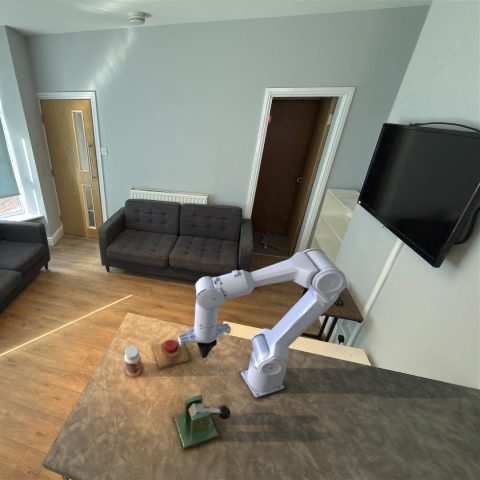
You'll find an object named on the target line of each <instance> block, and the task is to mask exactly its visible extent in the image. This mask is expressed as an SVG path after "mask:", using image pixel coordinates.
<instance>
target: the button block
mask: <svg viewBox="0 0 480 480" xmlns="http://www.w3.org/2000/svg"><path fill="white" fill-rule="evenodd" d="M170 340H172V341H174V342H176V351H175V352H174V353H168V352H167V351H166V349H165V344H166V342H167V341H170ZM152 347H153V351H154V355H155V358H156V361H157V364H158V366H159V369H163V368H166V367H169V366H173V365H177V364H180V363H184V362H187V361H190V359H191V358H190V355H189V353H188V351H187V348H186V347H185V345H184V346H180V344H179V341H178V339H167V340H164V342H162V343H159V344H155V345H153V346H152Z"/></svg>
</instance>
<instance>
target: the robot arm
mask: <svg viewBox="0 0 480 480" xmlns="http://www.w3.org/2000/svg"><path fill="white" fill-rule="evenodd" d="M289 281H292V282H294V283H296V284H297V285H300V286H301V287H303V288H306V289H308V290H307V291H306V292H305V293H304V294H303V295H302V296H301V298H300V299H299V300H298V301H297V302H296V303H295V304H294V305H293V306H292V307H291V308H290V309H289V310H288V311H287V313H286V314H285V315H284V316H283V317H282V318H281V319H280V320H279V321H278V322H277V323H276V324H275V325H274V326H273V327H272V329H271V328H265V327H264V328H263V329H262V330H261V331H259V332H258V333H255V334H253V335H252V337H251V339H250V343H251V345H252V348H253V350H252V353H251V355H250V360H249V365H248V369H246V370H243V371H241V372H240V375H241V376H242V378H243V380H244V381H245V383H246V385H247V387H248V388H249V389H250V391H251V393H252V394H253V396H254V398H260V397H263V396H266V395H269V394H272V393H275V392H278V391H281V390H284V388H285V386H284V384H283V382H284V381H285V380H284V379H285V377H286V373H287V367H286V363H287V362H288V361H289V354H290V353H289V351H290V346H291V345H292V344H293V343H295V341H296V340H298V338H299V337H300V336H301V335H302V334H304V332H306V331H307V330H308V328H310V327H311V326H312V325H313V324H314V323H315V322H316V321H317V320H318V319H319V318H320V317H321V316H322V315H323V314H324V313H325V312H326V311H327V310H328V309H329V308H330V307H331V306H333V304H334V303H336V302H337V300H338V298H339V296H340V294H341V293H342V292H343V291H344V290H345V289H346V288H347V287H348V285H349V284H348V281H347V277H346V274H345V273H344V272H343V271H342V270H341V269H339V268H338V267H337V265H336V264H335V263H334V262H333V261H332V260H331V259H330V258H329V257H328V256H327V254H326V253H325V251H324V250H322V249H320V248H318V247H312V248H308V249H305V250H302V251H296V252H295V253H294V254H293V255H292V256H291V257H290V258H288V259H286V260H282V261H280V262H277V263H274V264H272V265H269V266H265V267H263V268H260V269H256V270H254V271H250V272H249V271H247V270H245V269H240V270H238V269H235V270H232V271H231V272H229V273H226V274H222V275H219V276H214V277H213V276H210V275H209V276H208V275H207V276H202V277H201V278H199V279H198V280H197V281H196V283H195V284H194V288H195V293H196V296H195V297H196V299H195V307H194V308H195V309H194V326H193V327H192V328H190V329H188V330H186V331H184V333H181V334H179V335H177V340H178V341H179V344H180V346H185V344H187V343H195V344H197V347H198V352H199V355H200V357H201V359H206V358H208V356H209V354H210V353H211V350H212V349H213V348H214V347H216V346H217V343H218V340H217V339H218V338H220V337H221V336H222V335H224V334H226V335H229V334H231V332H232V327H231V326H230V324H229V323H228V322H226V323H218V317H219V316H218V315H219V308H220V307H221V305H222V304H224V303H225V302H226V301H228V300H231V299H235V298H239V297H242V296H246V295H247V296H248V295H250V294H252V292H253V291H254V289H255V288H256V287H257V288H258V287H263V286H268V285H273V284H278V283H284V282H289Z"/></svg>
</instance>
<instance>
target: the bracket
mask: <svg viewBox="0 0 480 480" xmlns="http://www.w3.org/2000/svg"><path fill="white" fill-rule="evenodd" d="M203 400H204V397H203V395H202V394H198V395H195V396H192V397H188V398H186V399H184V413H183V414H180V415H178V416H175V417H174V422H175V426H176V428H177V432H178V434H179V438H180V441H181V444H182V447H183V449H184V450H186V449H189V448H191V447H194V446H197V445H200V444H202V443H205V442H207V441H211V440H214V439H216V438H219V434H218V431H217V429H216V426H215V424H214V422H213V420H212V417H211V415H210V413H209V411H205V412H202V413H199V414H196V415H193V416H190V413H189V410H188V409H189V408H190V407H191V405H192V404H193V403H197V404H202V405H203ZM204 408H207V406H205V407H204Z"/></svg>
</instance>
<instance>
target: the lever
mask: <svg viewBox="0 0 480 480" xmlns="http://www.w3.org/2000/svg"><path fill="white" fill-rule="evenodd" d="M188 410H189V413H190V416H193V415H196V414H199V413H202V412H205V411H209V413H210V416H218V417H219V418H220V419H221V420H224V421H226V420H229V418H230V416H231V410H230V407H229V406H228V405H226V404H220V405H219V406H218V407H217V408H215V407H213V408H211V407H206V408H205V407H204V404H203V403H202V404H197V403H193V404H192V405H191V407H190V408H189V409H188Z"/></svg>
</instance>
